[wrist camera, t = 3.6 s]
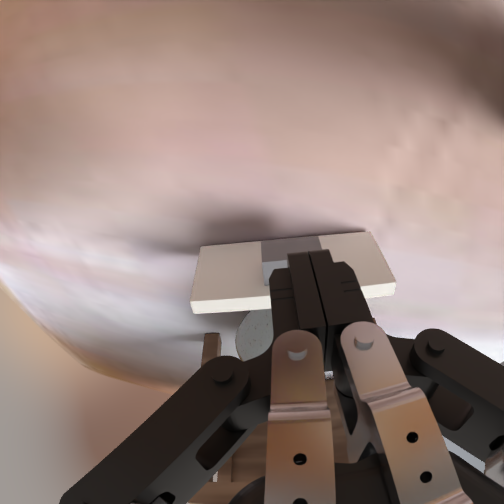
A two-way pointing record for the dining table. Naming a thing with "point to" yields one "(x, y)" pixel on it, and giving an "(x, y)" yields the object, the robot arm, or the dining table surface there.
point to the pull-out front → (274, 257)
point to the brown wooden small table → (257, 446)
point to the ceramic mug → (254, 334)
